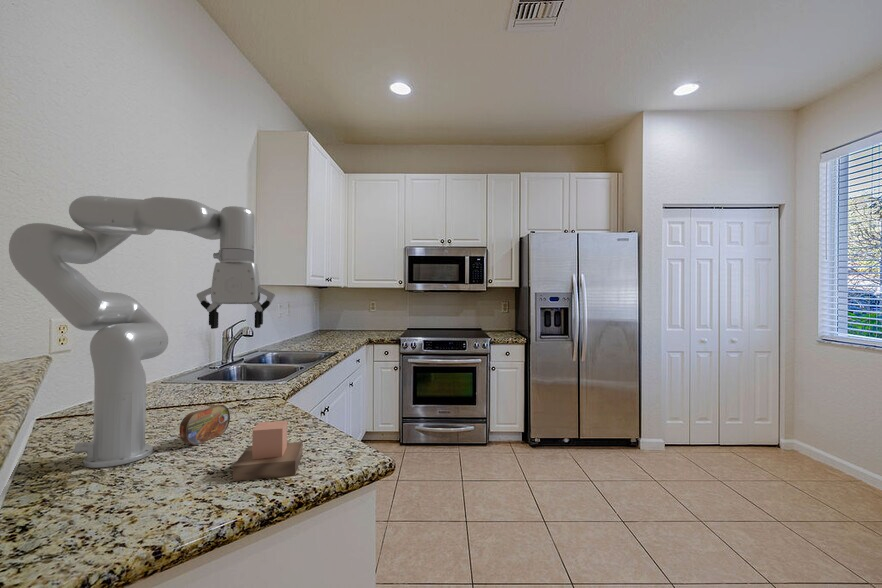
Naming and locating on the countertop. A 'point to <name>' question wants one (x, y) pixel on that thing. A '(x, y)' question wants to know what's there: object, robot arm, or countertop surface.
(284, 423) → the cube
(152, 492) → the countertop surface
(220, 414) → the tin
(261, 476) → the base
